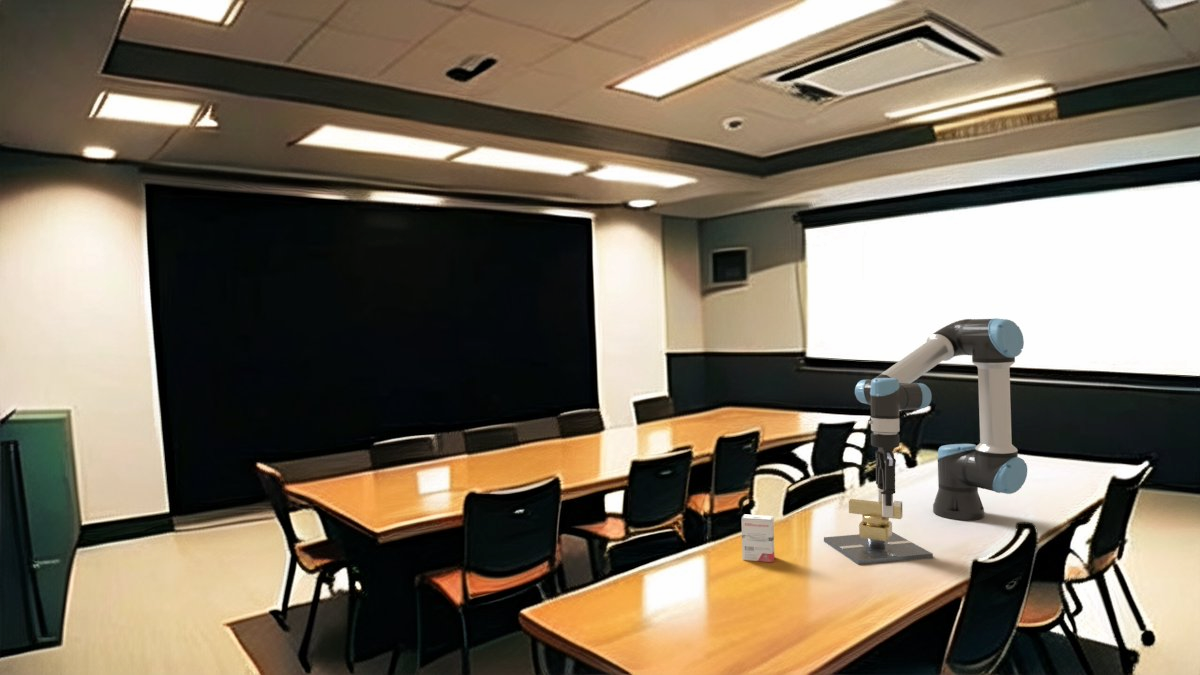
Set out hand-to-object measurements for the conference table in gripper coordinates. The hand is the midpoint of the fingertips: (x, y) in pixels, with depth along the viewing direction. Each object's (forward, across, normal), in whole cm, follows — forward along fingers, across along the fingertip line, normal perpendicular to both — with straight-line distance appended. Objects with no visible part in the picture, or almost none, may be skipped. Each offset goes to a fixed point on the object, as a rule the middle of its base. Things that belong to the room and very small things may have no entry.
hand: (885, 514), depth 198 cm
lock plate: (+11, -1, -2) cm, 11 cm away
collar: (+7, -1, -2) cm, 7 cm away
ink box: (+12, +8, -36) cm, 39 cm away
